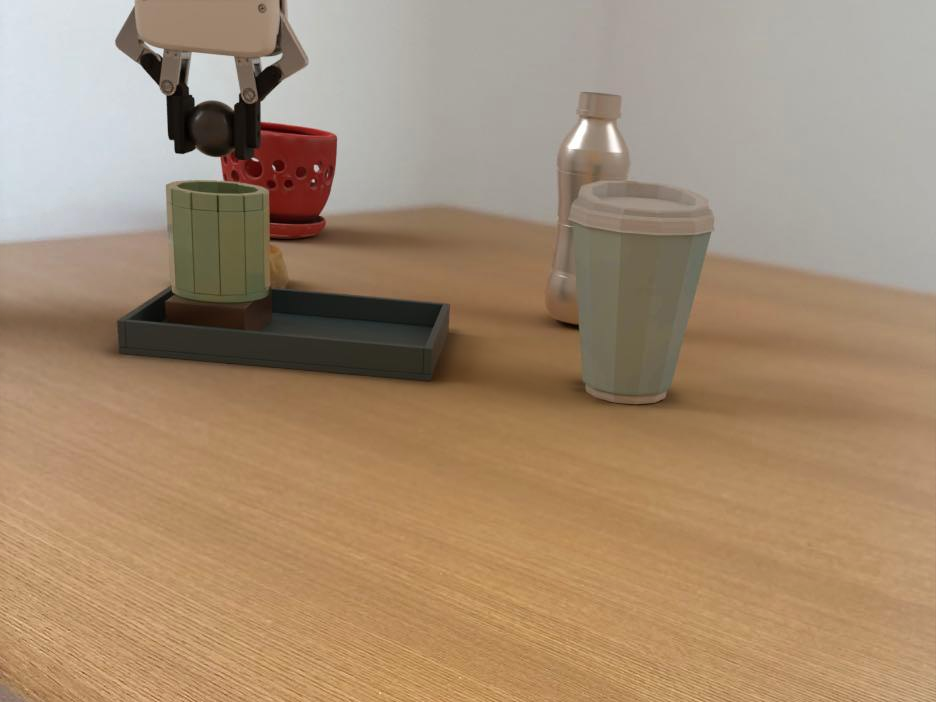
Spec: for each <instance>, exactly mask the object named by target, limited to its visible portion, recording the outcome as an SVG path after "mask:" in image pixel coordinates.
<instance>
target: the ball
mask: <svg viewBox="0 0 936 702" xmlns="http://www.w3.org/2000/svg"><path fill="white" fill-rule="evenodd" d="M187 133H188V136H189V139H190V141H191V143H192V144H193V145H194V147H195V148H196V149H195V150H197V151H199V153H201V154H203V155H205V156H208V157H212V158H220V157H223V156H226V155H229V154H230V153H232V152H233V151H234V150H235V140H234V108H232V107H231V106H230V105H228V104H227V103H225V102H222V101H219V100H210V99H209V100H204V101H201V102H199V103H198V104H195V107H194V108H193V109H192V111H191V112H190V114H189V116H188V119H187Z"/></svg>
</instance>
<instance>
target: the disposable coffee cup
mask: <svg viewBox="0 0 936 702" xmlns="http://www.w3.org/2000/svg"><path fill="white" fill-rule="evenodd" d="M709 207H710V205H709V200H708V198H707V197H705V196H702V195H701V194H698V193H696V192H695V191H692V190H690V189H687V188H682V187H678V186H674V185H671V184H666V183H662V182H649V181H636V180H627V181H597V182H594V183H590V184H586V185H583V186H581V188H580V191H579V194H578V199H575V200H574V201H573V203H572V205H571V209H570V216H569V218H568V220H571V221H572V225H573V241H574V256H575V271H576V286H577V302H578V317H579V326H578V330H579V331H578V332H579V344H580V346H579V347H580V362H581V374H582V377H581V378H582V382H583V383H584V384H585V392H586V393H587V394H590V395H591V396H592V397H594V398H596V399H599V400H603V401H607V402H610V403H615V404H627V405H644V404H655V403H657V402H659V401H661V400H662V401H663V400H664V399H666V396H667V393H668V391H669V390H671V389H672V384H673V380H674V376H675V372H676V369H677V366H678V365H677V364H678V361H679V358H680V354H681V350H682V346H683V342H684V339H685V335H686V330H687V327H688V322H689V319H690V316H691V312H692V308H693V304H694V300H695V296H696V293H697V290H698V289H697V288H698V285H699V281H700V277H701V274H702V269H703V265H704V262H705V259H706V254H707V250H708V246H709V244H710V243H709V242H710V239H711V235H712V232H715V230H716V229H715V216H714V212H713V210H712V209H711V208H709Z"/></svg>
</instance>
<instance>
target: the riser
mask: <svg viewBox="0 0 936 702" xmlns="http://www.w3.org/2000/svg"><path fill="white" fill-rule="evenodd" d="M165 305H166V323H171V324H182V325H193V326H204V327H215V328H226V329H237V330H249V331H261V330H262V329H263V328H264V327H265V326H266V325H267V324H268V323H269V322H270V321H271V320H272V285H271V284H270V286H269V294H268V296H267V297H265V298H263V299H259V300H255V301H249V302H239V303H215V302H203V301H196V300H191V299H186V298H183V297H180V296H177V295H174V296H172V297H171V298H169V299H168V300H167V301H166V302H165Z"/></svg>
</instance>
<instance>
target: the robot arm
mask: <svg viewBox="0 0 936 702" xmlns="http://www.w3.org/2000/svg"><path fill="white" fill-rule="evenodd" d="M288 9H289V8H288V0H134V5H133V8H132V9H131V11H130V13H129V15H127V16H128V17H127V18H126V20H125V22H124V23H123V25H122V27H121V29H120V30H119V32H118V34H117V36H116V38H115V40H114V44H115V47H116V48H117V49H118V50H119V51H121V53H123V54H124V55H126V56H127V57H129V58H130V59H131V60H132V61H134V62H135V63H137V64H138V65H140V67H141V68H142V69H143V70H144V71H145V72H146V73H147V74H148V76H149V77H150V78H151V79H152V80H153V81H154V82H155V83H156V85H157V86H158V87H159V90H160V92H161V93H162V94H163V95H164V96H165V99H166V101H165V102H166V123H167V125H166V126H167V138H168V140H169V141H173V148H174V153H175V154H178V155H185V154H188V153H192V152H194V151H196V150H197V149H196V148H195V147H194V145H193V144H192V143H191V141H190V139H189V136H188V133H187V119H188V116H189V114H190V112H191V111H192V109H193V108H194V107H195V106H196V101H195V97H193V94H190V87H189V86H188V82H189V77H190V76H189V75H190V70H191V69H190V67H191V61H192V53H198V54H208V55H216V56H217V55H218V56H225V57H226V56H227V57H233V58H234V64H235V70H236V75H237V81H238V87H239V91H240V93H238V102H236V103H234V104H233V110H234V140H235V158H238V160H247V159H250V158H251V159H253V158H252V157H254V148H255V149H259V148H260V145H261V122H262V113H261V112H262V109H261V107H262V105H261V104H262V103H261V102H263V101H264V100H265V99H266V97H267V96H268V95H270V94H271V92H273V90H274V89H276V87H278V86H279V85H280V84H281V83H282V82H283V81H285V80H286V79H288V78H289V77H291V76H293V75H295V74H296V73H299V72H300V71H302V70H303V69H305V68H307V67H308V66H309V62H310V61H309V60H310V59H309V57H308V55H307V53H306V51H305V50H304V47H303V46H302V44H301V42H300V41H299V39H298V36H297V35H296V33H295V31H294V30H293V27H292V26H291V24H290V23H289V12H288V11H289V10H288ZM148 45H149V46H148ZM150 46H152V47H154V48H158V49H163V52H162V55H161V54H159V53H156V52H155V51H154V50H153V49H152V48H150ZM281 54H282V55H281ZM278 55H281V57H280V59H278V60H276V61H275V62H273V63H272V64H270V65H268V66H266V67H265V68H264V69H263V66H262V60H261V58H265V57H266V58H269V57H276V56H278Z"/></svg>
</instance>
